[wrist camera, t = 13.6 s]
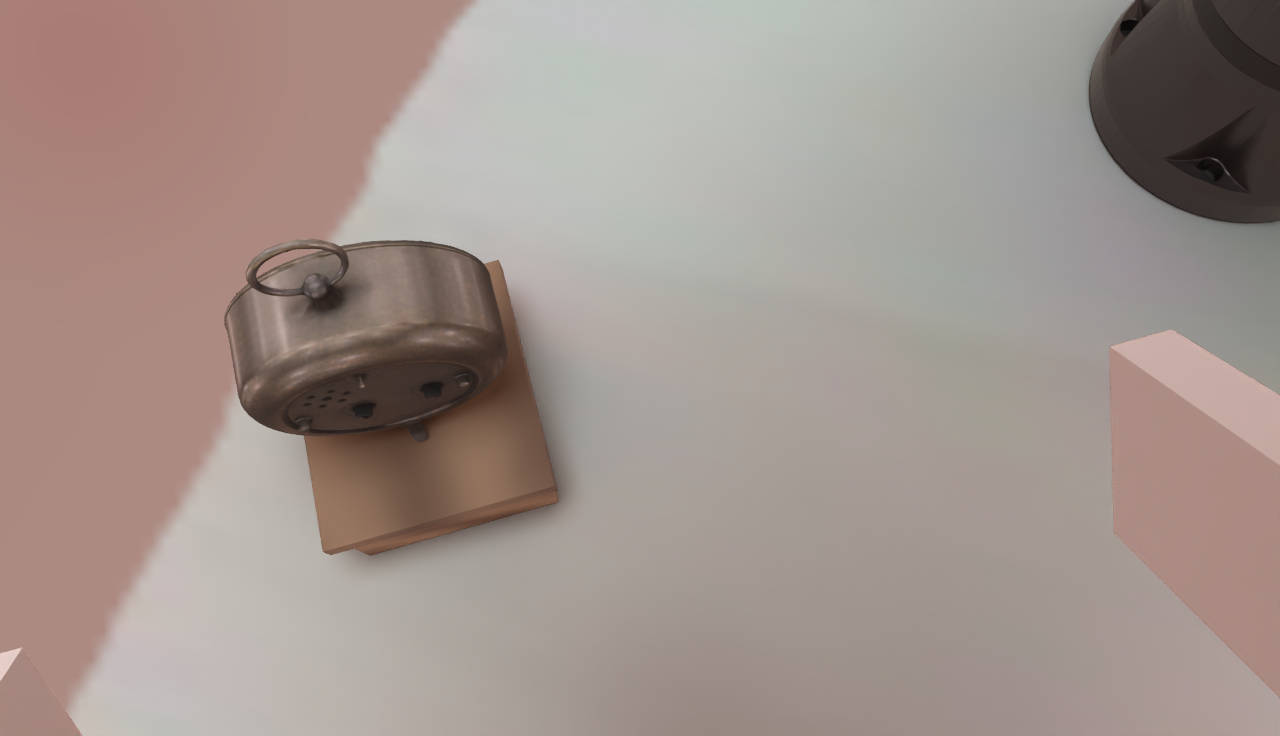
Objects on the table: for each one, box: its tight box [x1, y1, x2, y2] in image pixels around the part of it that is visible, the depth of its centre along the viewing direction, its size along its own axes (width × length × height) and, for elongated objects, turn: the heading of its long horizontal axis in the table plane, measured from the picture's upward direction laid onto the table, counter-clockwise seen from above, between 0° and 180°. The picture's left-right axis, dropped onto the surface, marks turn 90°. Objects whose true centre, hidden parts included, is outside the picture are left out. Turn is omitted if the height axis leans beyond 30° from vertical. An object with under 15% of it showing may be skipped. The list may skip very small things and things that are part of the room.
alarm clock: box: [225, 239, 508, 442], centre depth 39 cm, size 11×5×16 cm, turn 106°
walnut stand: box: [304, 260, 558, 555], centre depth 49 cm, size 11×12×5 cm
